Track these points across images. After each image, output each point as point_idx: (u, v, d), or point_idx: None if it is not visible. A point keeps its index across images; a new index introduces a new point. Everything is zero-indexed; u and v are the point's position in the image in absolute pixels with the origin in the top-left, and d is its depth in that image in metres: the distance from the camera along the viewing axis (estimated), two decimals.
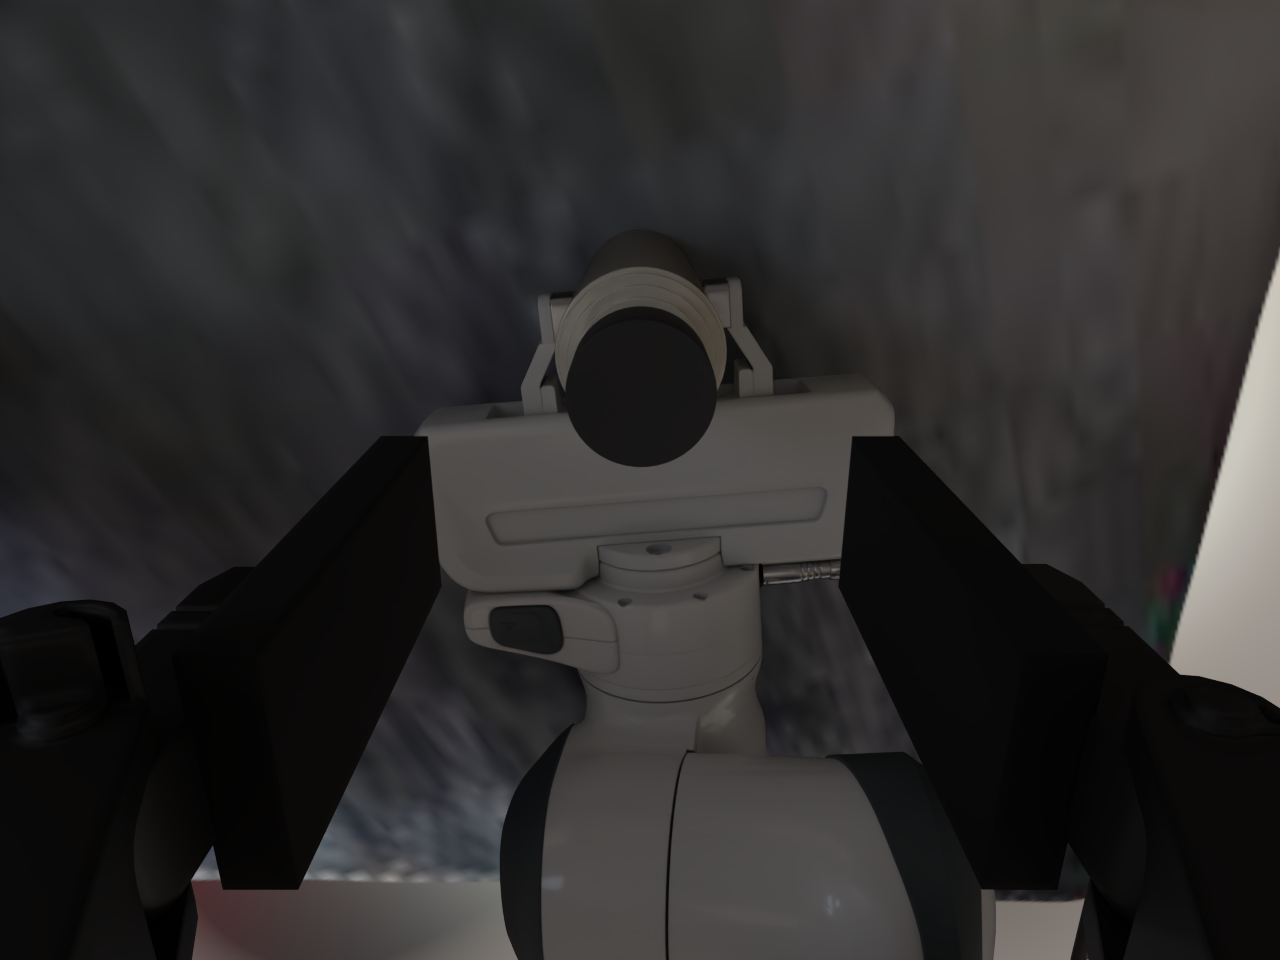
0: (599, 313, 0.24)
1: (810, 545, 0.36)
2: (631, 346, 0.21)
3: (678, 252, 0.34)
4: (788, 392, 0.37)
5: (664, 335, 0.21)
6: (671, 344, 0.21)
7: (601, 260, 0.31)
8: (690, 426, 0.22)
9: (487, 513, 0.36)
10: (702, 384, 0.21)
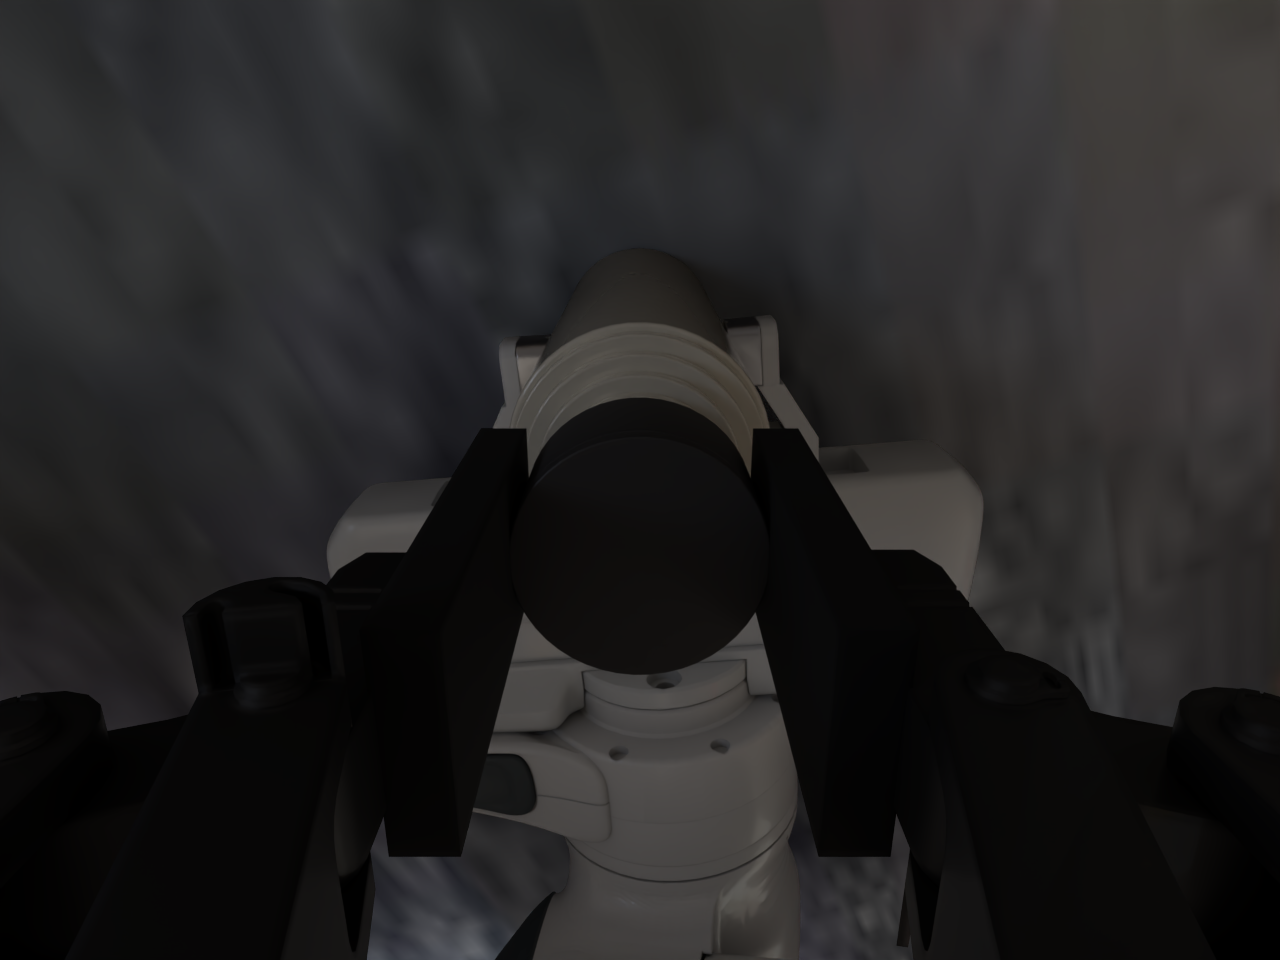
0: (573, 399, 0.15)
1: None
2: (622, 481, 0.12)
3: (690, 282, 0.25)
4: (835, 465, 0.28)
5: (681, 463, 0.12)
6: (693, 478, 0.12)
7: (584, 298, 0.22)
8: (724, 611, 0.13)
9: None
10: (746, 544, 0.12)
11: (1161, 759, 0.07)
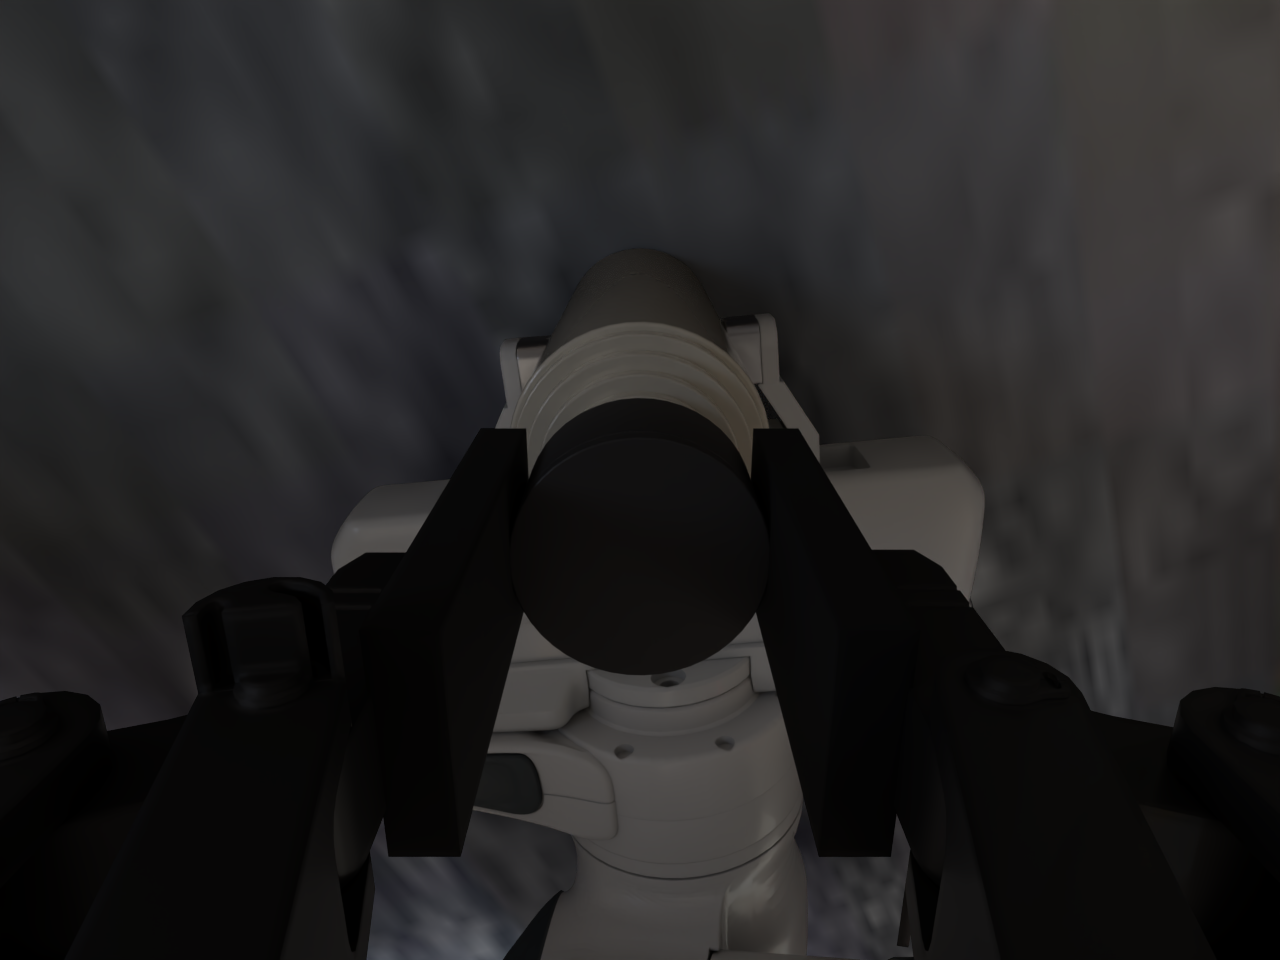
0: (573, 398, 0.15)
1: None
2: (579, 618, 0.13)
3: (690, 281, 0.26)
4: (836, 461, 0.28)
5: (531, 587, 0.12)
6: (537, 570, 0.12)
7: (583, 299, 0.22)
8: (636, 466, 0.12)
9: None
10: (560, 493, 0.12)
11: (1161, 759, 0.07)
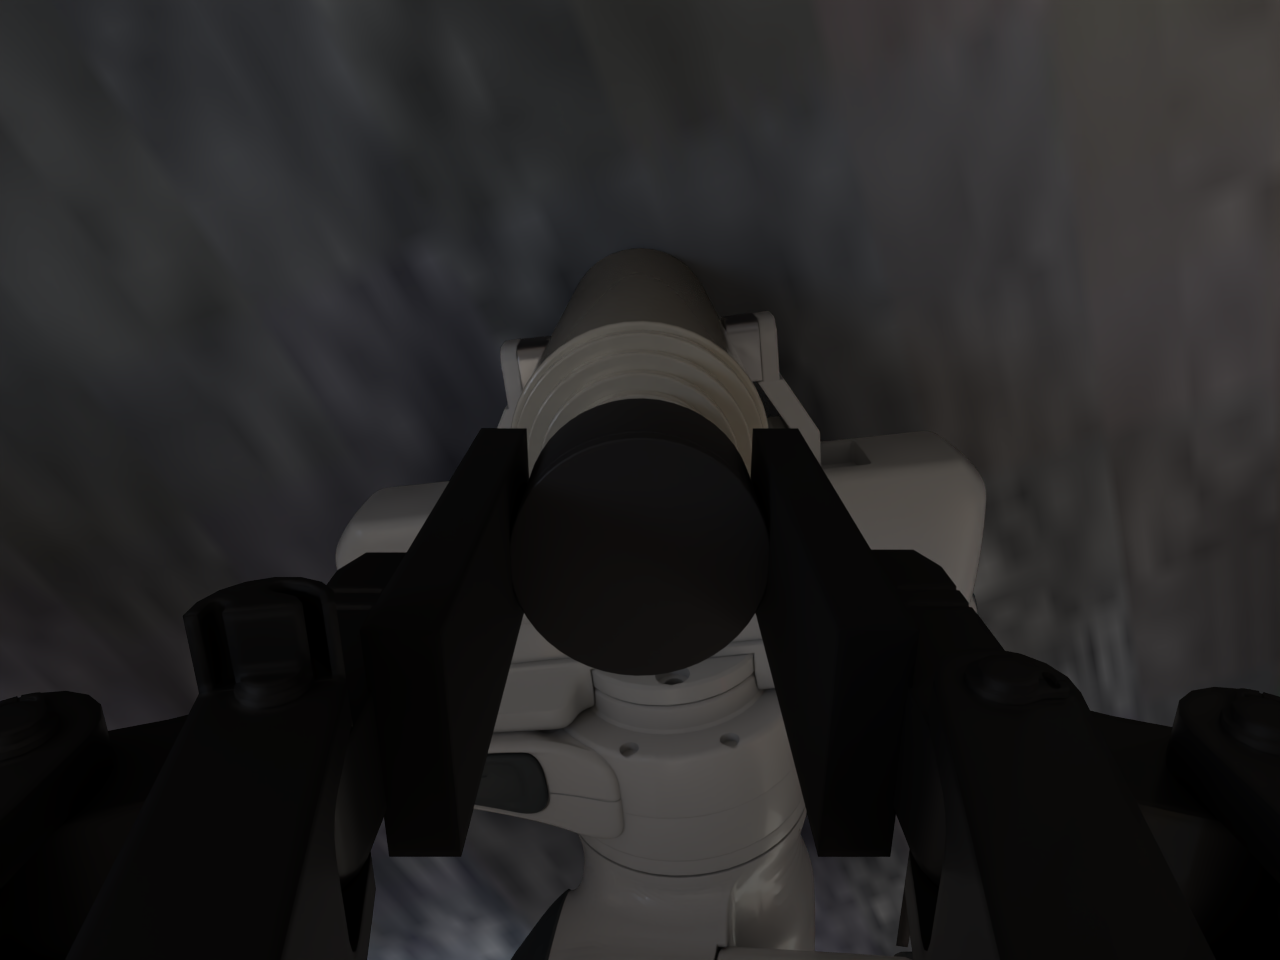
0: (572, 398, 0.16)
1: None
2: (725, 578, 0.12)
3: (688, 280, 0.26)
4: (837, 458, 0.28)
5: (720, 629, 0.13)
6: (702, 634, 0.13)
7: (582, 299, 0.22)
8: (558, 617, 0.13)
9: None
10: (621, 656, 0.13)
11: (1160, 759, 0.07)
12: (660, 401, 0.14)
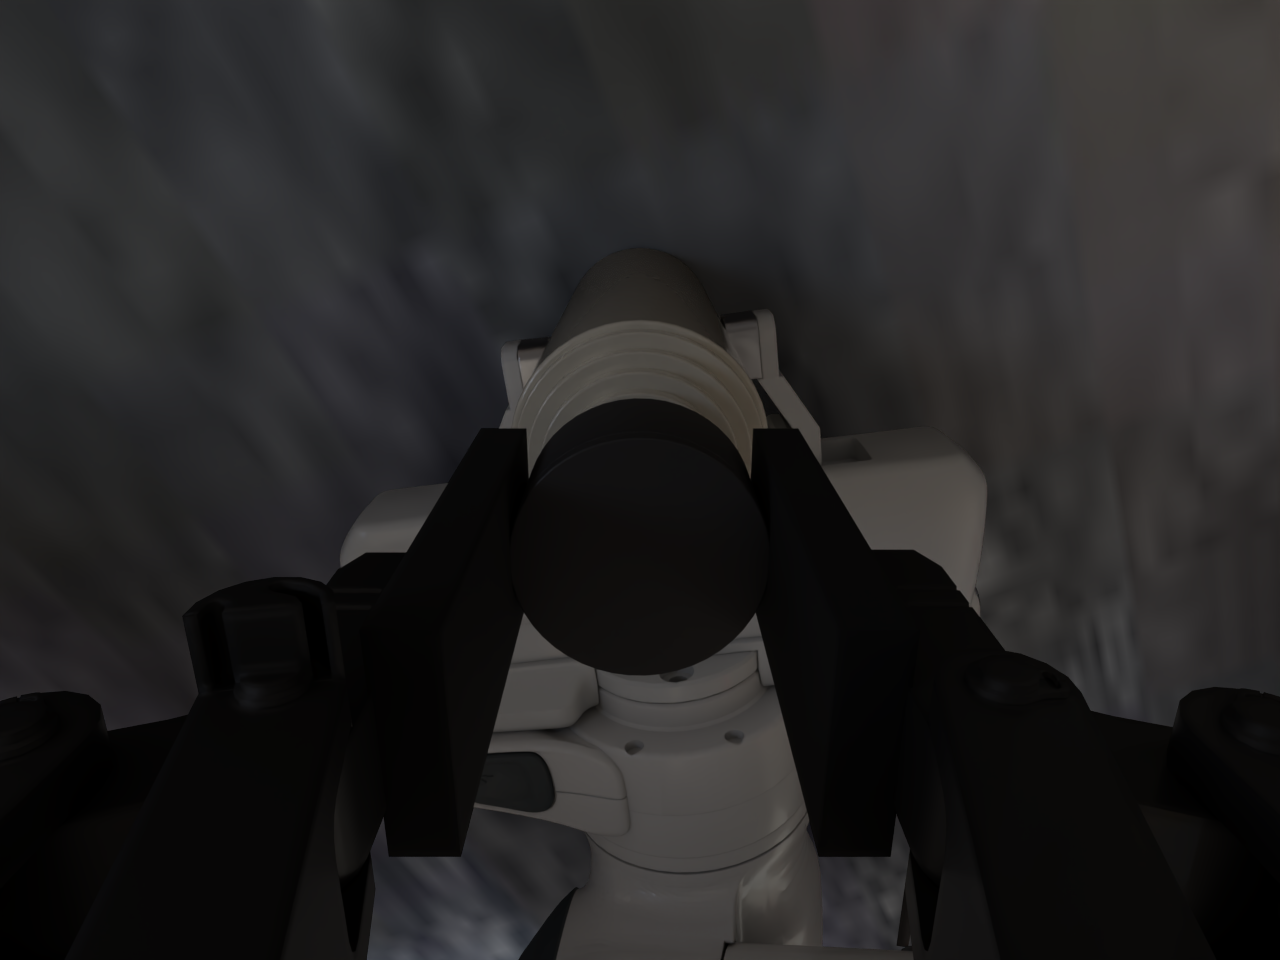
0: (572, 397, 0.16)
1: None
2: (603, 488, 0.12)
3: (687, 279, 0.26)
4: (838, 454, 0.28)
5: (655, 458, 0.12)
6: (671, 470, 0.12)
7: (581, 299, 0.22)
8: (735, 594, 0.12)
9: None
10: (740, 524, 0.12)
11: (1161, 759, 0.07)
12: None
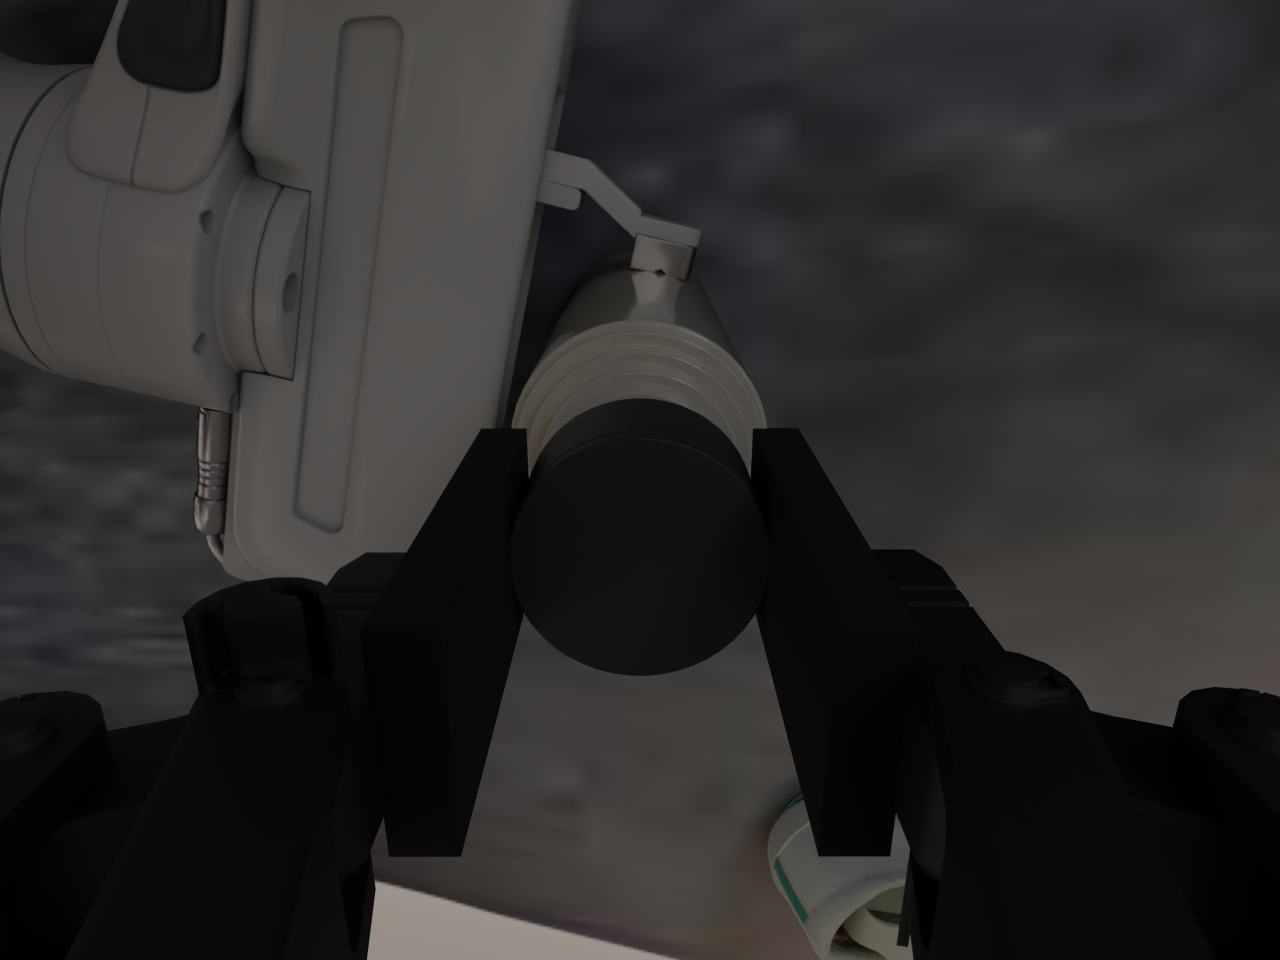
0: (732, 434, 0.16)
1: (256, 495, 0.25)
2: (604, 488, 0.12)
3: None
4: None
5: (656, 458, 0.12)
6: (671, 470, 0.12)
7: None
8: (735, 594, 0.12)
9: (403, 26, 0.21)
10: (740, 524, 0.12)
11: (1161, 759, 0.07)
12: None
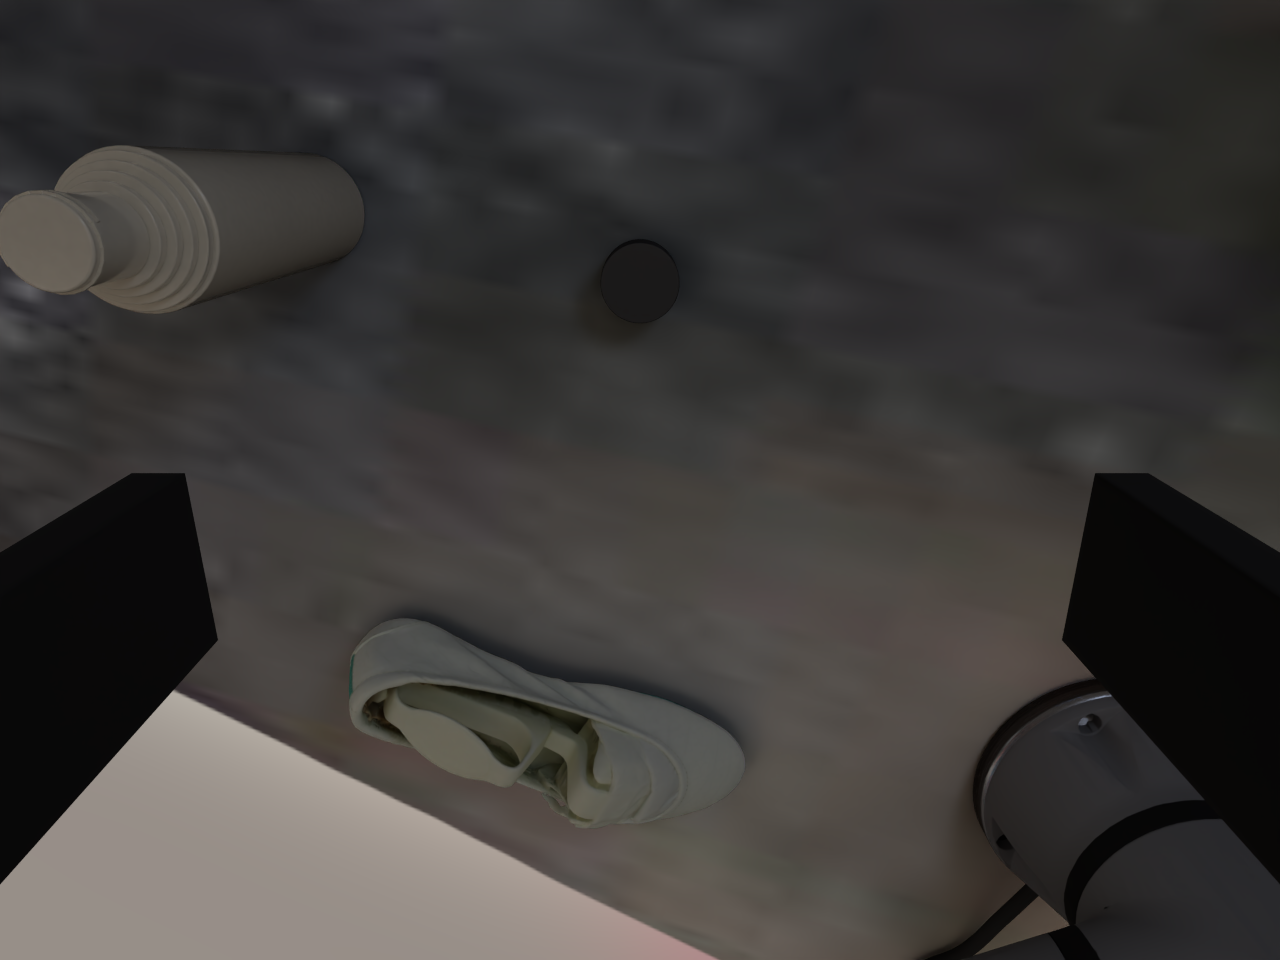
0: (174, 227, 0.26)
1: None
2: (629, 258, 0.41)
3: (295, 273, 0.38)
4: None
5: (644, 249, 0.41)
6: (649, 253, 0.41)
7: (289, 220, 0.33)
8: (668, 294, 0.41)
9: None
10: (669, 270, 0.41)
11: None
12: None
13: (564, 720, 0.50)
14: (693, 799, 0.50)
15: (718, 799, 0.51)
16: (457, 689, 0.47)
